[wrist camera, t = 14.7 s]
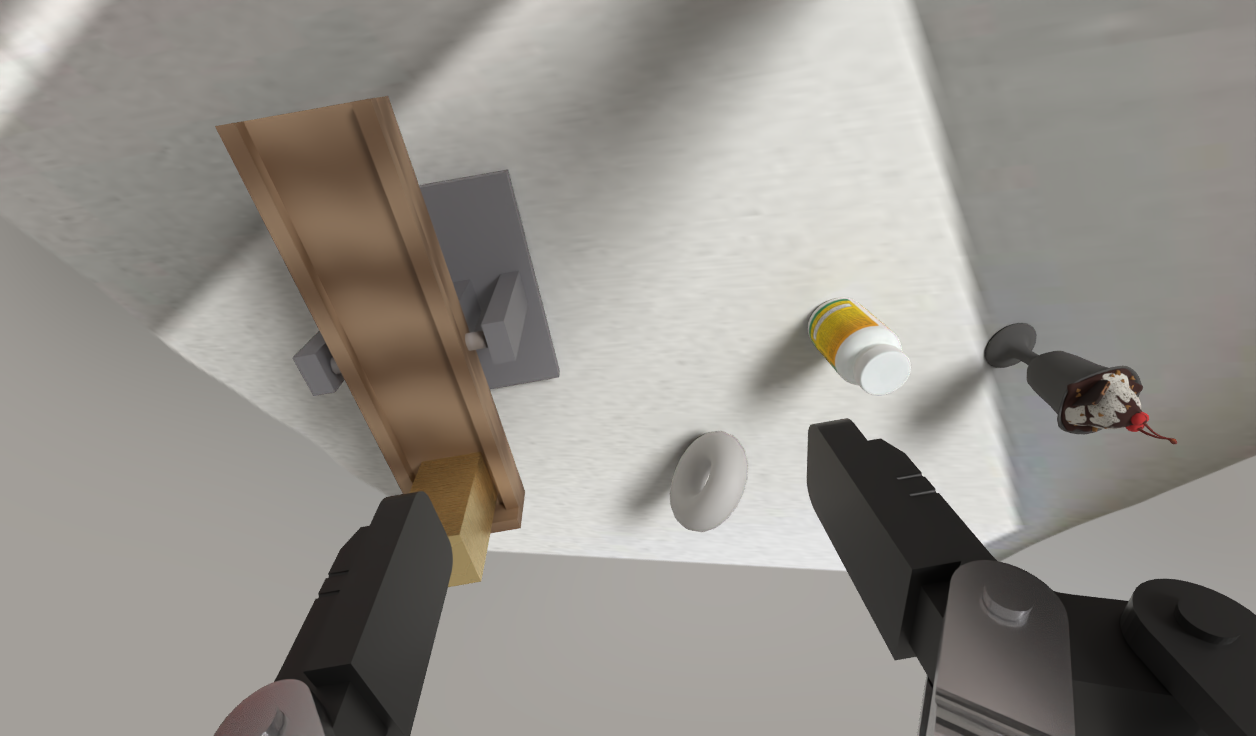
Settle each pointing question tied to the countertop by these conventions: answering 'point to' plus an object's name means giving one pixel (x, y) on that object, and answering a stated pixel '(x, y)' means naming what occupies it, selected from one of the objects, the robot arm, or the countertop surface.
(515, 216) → the pivot stand
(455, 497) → the rider
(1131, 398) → the sundae
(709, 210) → the countertop surface
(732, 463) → the donut
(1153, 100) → the countertop surface
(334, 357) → the beam
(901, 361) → the supplement bottle
